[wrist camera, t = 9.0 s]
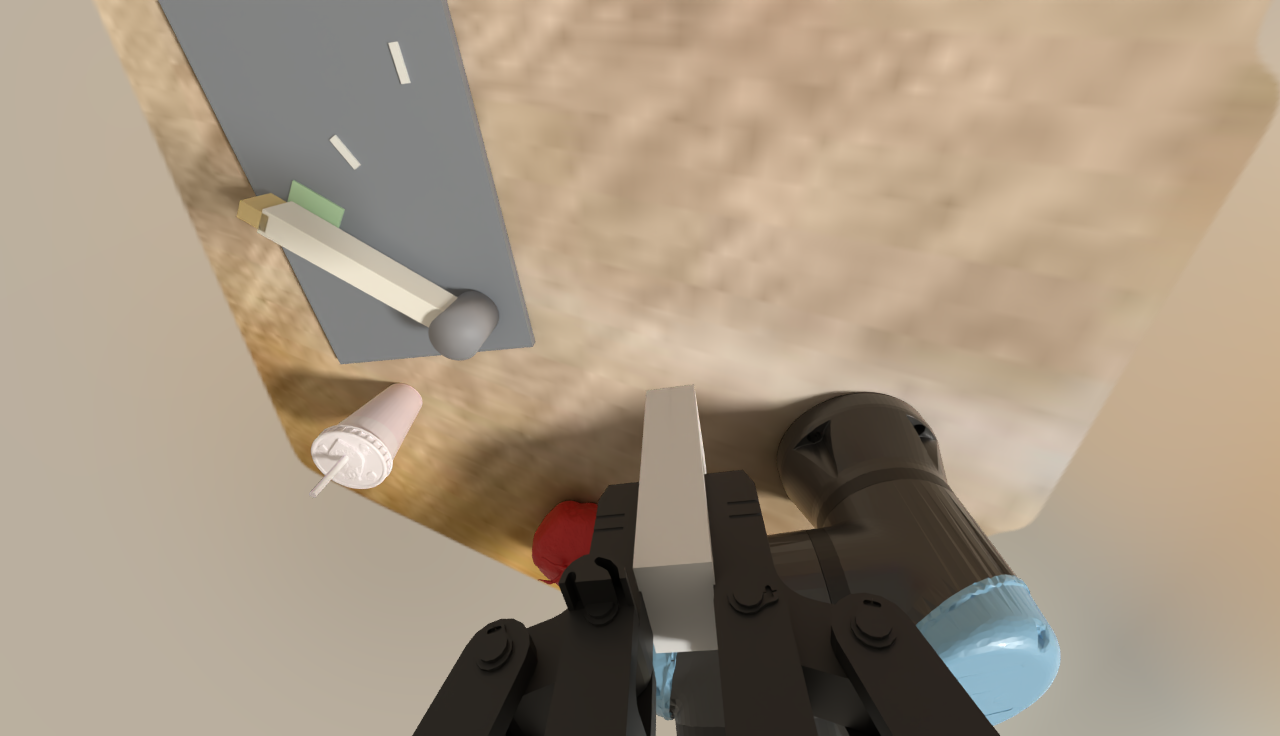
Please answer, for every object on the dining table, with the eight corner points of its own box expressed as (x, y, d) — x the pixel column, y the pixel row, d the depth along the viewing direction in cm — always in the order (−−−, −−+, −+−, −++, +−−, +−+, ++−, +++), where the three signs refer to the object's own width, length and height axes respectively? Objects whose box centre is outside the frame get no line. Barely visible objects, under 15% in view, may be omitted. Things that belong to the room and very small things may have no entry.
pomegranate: (530, 535, 57) (508, 606, 49) (554, 479, 52) (535, 548, 44) (606, 558, 59) (597, 631, 51) (636, 506, 54) (631, 578, 46)
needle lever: (506, 307, 41) (487, 332, 36) (487, 341, 42) (467, 368, 38) (284, 175, 36) (232, 186, 32) (272, 220, 38) (222, 235, 33)
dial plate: (535, 341, 44) (532, 347, 43) (346, 359, 46) (339, 365, 45) (434, -46, 30) (426, -51, 29) (171, 2, 32) (155, -2, 31)
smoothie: (426, 370, 46) (340, 468, 34) (442, 423, 49) (370, 529, 37) (363, 372, 46) (256, 468, 34) (383, 424, 50) (292, 529, 37)
